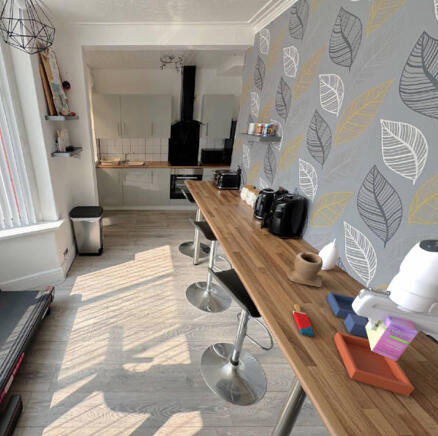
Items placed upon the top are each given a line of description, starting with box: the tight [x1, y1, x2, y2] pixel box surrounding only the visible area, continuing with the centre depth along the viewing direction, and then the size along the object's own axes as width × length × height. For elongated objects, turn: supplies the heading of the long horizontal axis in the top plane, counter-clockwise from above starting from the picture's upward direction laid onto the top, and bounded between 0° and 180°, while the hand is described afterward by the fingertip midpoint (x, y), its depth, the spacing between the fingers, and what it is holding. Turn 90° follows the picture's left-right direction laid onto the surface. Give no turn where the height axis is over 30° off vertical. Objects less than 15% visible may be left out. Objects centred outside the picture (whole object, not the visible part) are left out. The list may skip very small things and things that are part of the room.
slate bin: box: [326, 291, 369, 322], centre depth 95 cm, size 11×11×4 cm
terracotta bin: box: [333, 331, 415, 397], centre depth 74 cm, size 14×15×4 cm
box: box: [366, 316, 419, 362], centre depth 68 cm, size 10×6×12 cm, turn 147°
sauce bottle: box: [318, 238, 339, 271], centre depth 118 cm, size 8×8×18 cm
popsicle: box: [292, 303, 315, 338], centre depth 90 cm, size 4×2×15 cm
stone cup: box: [286, 251, 324, 288], centre depth 109 cm, size 15×12×15 cm
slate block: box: [343, 313, 368, 339], centre depth 86 cm, size 5×5×5 cm
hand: (386, 332), depth 69 cm, fingers closed on box, 6 cm apart
